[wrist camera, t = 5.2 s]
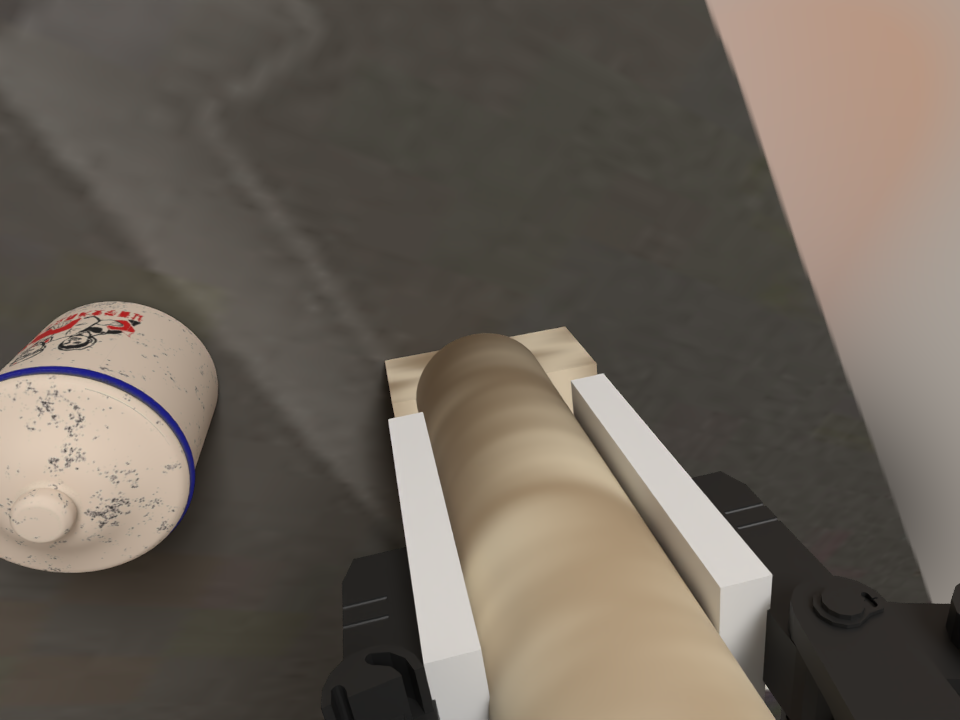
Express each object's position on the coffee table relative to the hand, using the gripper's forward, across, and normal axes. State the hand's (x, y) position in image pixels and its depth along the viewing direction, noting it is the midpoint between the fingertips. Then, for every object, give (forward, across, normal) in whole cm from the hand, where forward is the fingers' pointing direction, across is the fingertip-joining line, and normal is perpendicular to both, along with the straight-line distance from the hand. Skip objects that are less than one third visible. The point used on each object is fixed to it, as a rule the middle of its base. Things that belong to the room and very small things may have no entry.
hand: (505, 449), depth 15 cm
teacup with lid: (+21, -17, -5) cm, 27 cm away
